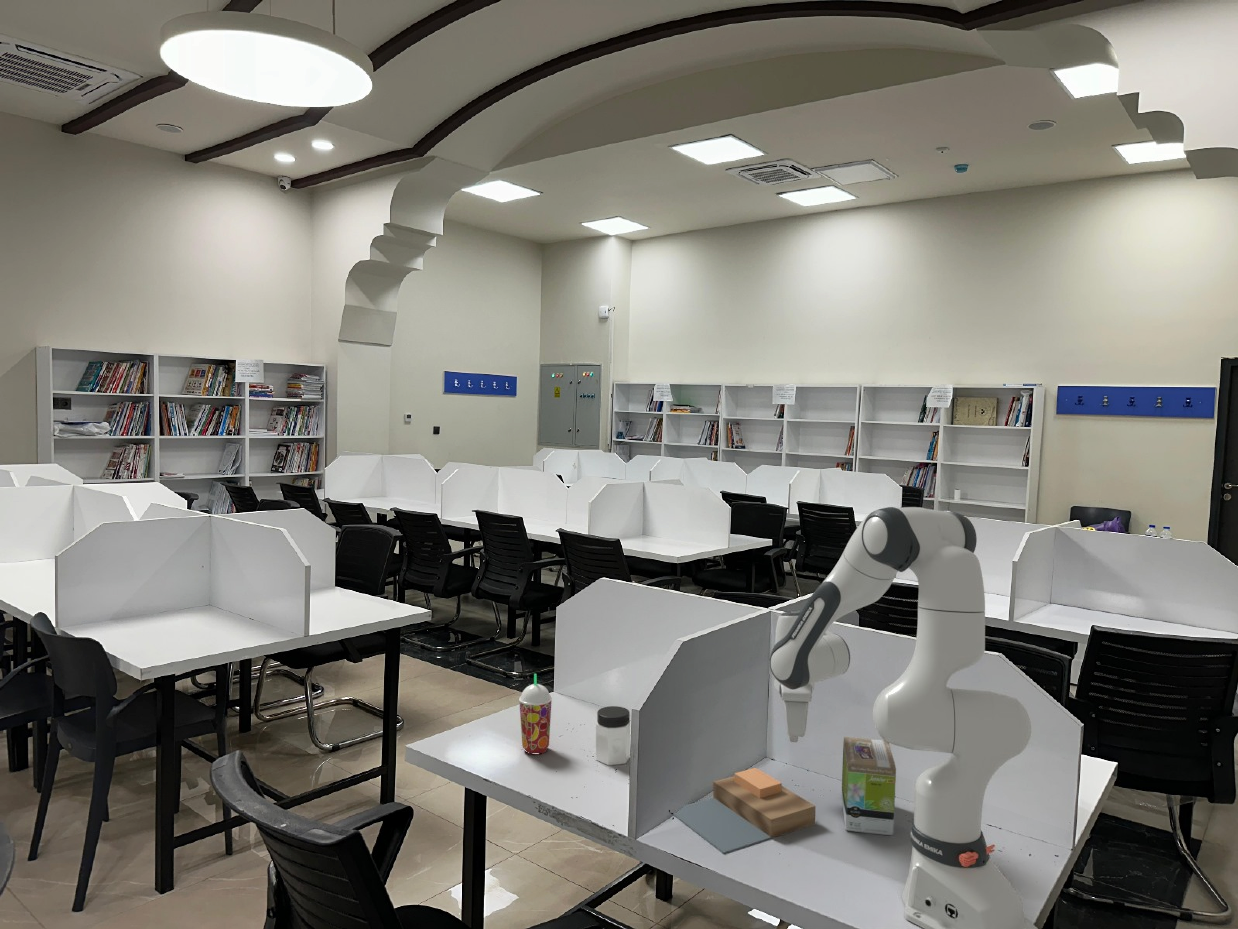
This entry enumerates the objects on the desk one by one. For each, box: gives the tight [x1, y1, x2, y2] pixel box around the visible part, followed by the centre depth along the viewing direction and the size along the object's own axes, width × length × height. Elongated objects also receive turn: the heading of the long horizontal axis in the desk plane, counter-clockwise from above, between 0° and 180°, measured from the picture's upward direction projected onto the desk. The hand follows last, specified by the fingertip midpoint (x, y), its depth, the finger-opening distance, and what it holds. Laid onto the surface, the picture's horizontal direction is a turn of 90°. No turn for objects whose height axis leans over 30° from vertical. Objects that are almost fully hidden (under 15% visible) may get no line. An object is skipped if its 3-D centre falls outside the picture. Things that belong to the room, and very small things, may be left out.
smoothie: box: [518, 673, 553, 754], centre depth 215 cm, size 8×8×20 cm
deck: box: [712, 775, 816, 839], centre depth 183 cm, size 20×12×4 cm, turn 30°
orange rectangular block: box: [733, 767, 783, 798], centre depth 186 cm, size 9×6×2 cm, turn 30°
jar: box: [595, 705, 631, 766], centre depth 210 cm, size 9×8×12 cm
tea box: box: [841, 736, 897, 836], centre depth 180 cm, size 15×10×15 cm
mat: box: [673, 797, 772, 855], centre depth 177 cm, size 20×12×1 cm, turn 30°
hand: (793, 739), depth 191 cm, fingers closed
